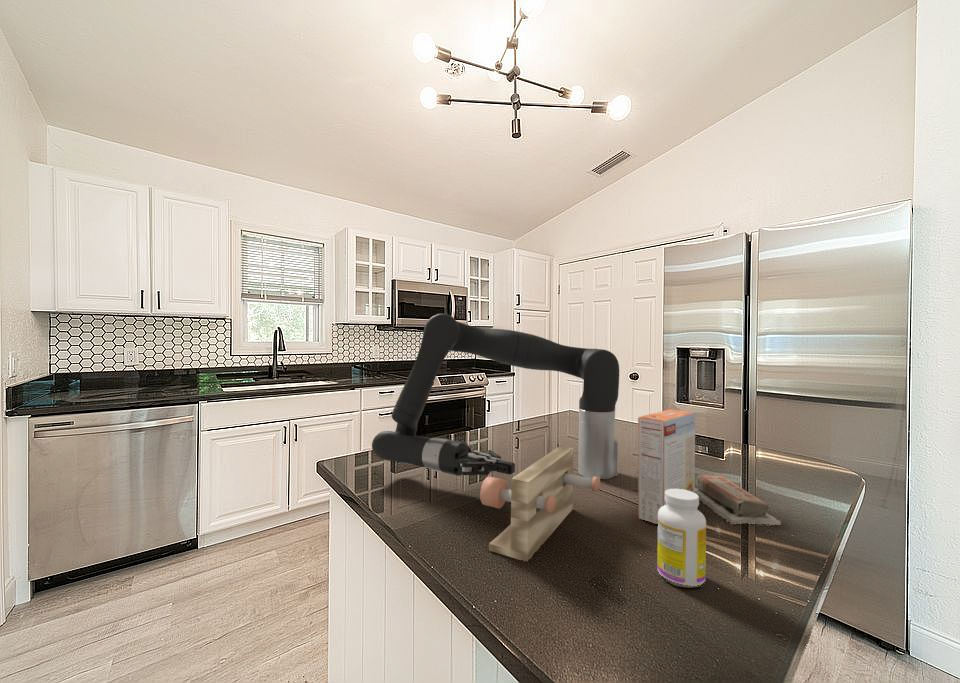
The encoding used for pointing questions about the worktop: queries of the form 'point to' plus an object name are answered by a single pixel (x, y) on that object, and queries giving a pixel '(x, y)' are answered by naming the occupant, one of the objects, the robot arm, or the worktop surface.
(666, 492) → the supplement bottle
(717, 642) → the worktop surface
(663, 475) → the cracker box
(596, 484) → the knob
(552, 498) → the knob
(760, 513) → the packaged product
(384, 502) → the worktop surface
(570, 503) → the knob panel
